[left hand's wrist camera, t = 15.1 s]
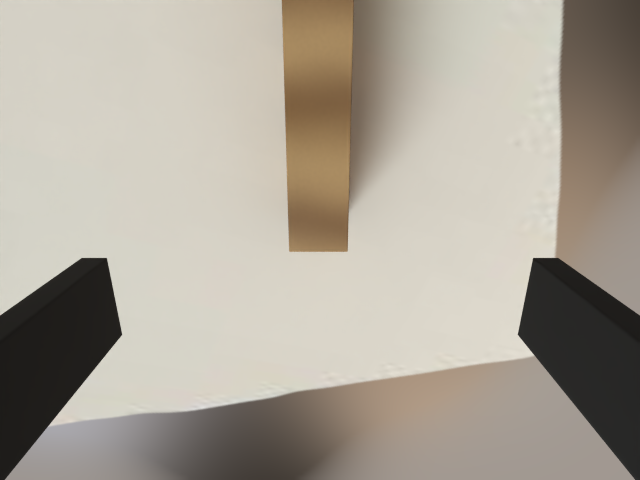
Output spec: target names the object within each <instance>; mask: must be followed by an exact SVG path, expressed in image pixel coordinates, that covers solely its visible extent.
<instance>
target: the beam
mask: <svg viewBox="0 0 640 480" xmlns="http://www.w3.org/2000/svg"><path fill="white" fill-rule="evenodd" d="M353 12H354V0H282V18H283V53H284V87H285V121H286V155H287V189H288V224H289V251H290V252H347V251H348V213H349V172H350V132H351V92H352V52H353Z"/></svg>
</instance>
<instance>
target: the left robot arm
mask: <svg viewBox="0 0 640 480" xmlns="http://www.w3.org/2000/svg"><path fill="white" fill-rule="evenodd" d="M121 335H122V332H121V327H120V322H119V317H118V312H117V307H116V302H115V297H114V292H113V287H112V282H111V277H110V272H109V267H108V262H107V258H81V259H80V260H78V261H77V262H76V263H74V264H73V265H71V266H70V267H68V268H67V269H66V270H64V271H63V272H61V273H60V274H59V275H57V276H56V277H54V278H53V279H51V280H50V281H49V282H47V283H46V284H44V285H43V286H42V287H40V288H39V289H37V290H36V291H34V292H33V293H32V294H30V295H29V296H27V297H26V298H24V299H23V300H22V301H20V302H19V303H17V304H16V305H15V306H13V307H12V308H10V309H9V310H7V311H6V312H5V313H3V314H2V315H0V480H5V479H6V477H7V476H8V475H9V474H10V473H11V471H12V470H13V469H14V468H15V466H16V465H17V464H18V463H19V461H20V460H21V459H22V458H23V456H24V455H25V454H26V453H27V452H28V450H29V449H30V448H31V447H32V445H33V444H34V443H35V442H36V440H37V439H38V438H39V437H40V435H41V434H42V433H43V432H44V431H45V429H46V428H47V427H48V426H49V424H50V423H51V422H52V421H53V419H54V418H55V417H56V416H57V414H58V413H59V412H60V411H61V410H62V408H63V407H64V406H65V405H66V403H67V402H68V401H69V400H70V398H71V397H72V396H73V395H74V393H75V392H76V391H77V390H78V389H79V387H80V386H81V385H82V384H83V382H84V381H85V380H86V379H87V377H88V376H89V375H90V374H91V372H92V371H93V370H94V369H95V368H96V366H97V365H98V364H99V363H100V361H101V360H102V359H103V358H104V356H105V355H106V354H107V353H108V351H109V350H110V349H111V348H112V347H113V345H114V344H115V343H116V342H117V340H118V339H119V338H120V337H121ZM518 335H519V337H520V338H521V339H522V340H523V342H524V343H525V344H526V345H527V347H528V348H529V349H530V350H531V351H532V353H533V354H534V355H535V356H536V358H537V359H538V360H539V361H540V363H541V364H542V365H543V366H544V368H545V369H546V370H547V371H548V372H549V374H550V375H551V376H552V377H553V379H554V380H555V381H556V382H557V384H558V385H559V386H560V387H561V389H562V390H563V391H564V392H565V393H566V395H567V396H568V397H569V398H570V400H571V401H572V402H573V403H574V405H575V406H576V407H577V408H578V409H579V411H580V412H581V413H582V414H583V416H584V417H585V418H586V419H587V421H588V422H589V423H590V424H591V426H592V427H593V428H594V429H595V431H596V432H597V433H598V434H599V435H600V437H601V438H602V439H603V440H604V442H605V443H606V444H607V445H608V447H609V448H610V449H611V450H612V452H613V453H614V454H615V455H616V456H617V458H618V459H619V460H620V461H621V463H622V464H623V465H624V466H625V468H626V469H627V470H628V471H629V473H630V474H631V475H632V476H633V477H634V479H635V480H640V315H638V314H637V313H635V312H634V311H633V310H631V309H630V308H628V307H627V306H625V305H624V304H623V303H621V302H620V301H618V300H617V299H615V298H614V297H613V296H611V295H610V294H608V293H607V292H606V291H604V290H603V289H601V288H600V287H598V286H597V285H596V284H594V283H593V282H591V281H590V280H589V279H587V278H586V277H584V276H583V275H581V274H580V273H578V272H577V271H576V270H574V269H573V268H572V267H570V266H569V265H567V264H566V263H564V262H563V261H562V260H560V259H559V258H533V262H532V267H531V272H530V277H529V282H528V287H527V292H526V297H525V302H524V307H523V312H522V317H521V322H520V327H519V332H518Z"/></svg>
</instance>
